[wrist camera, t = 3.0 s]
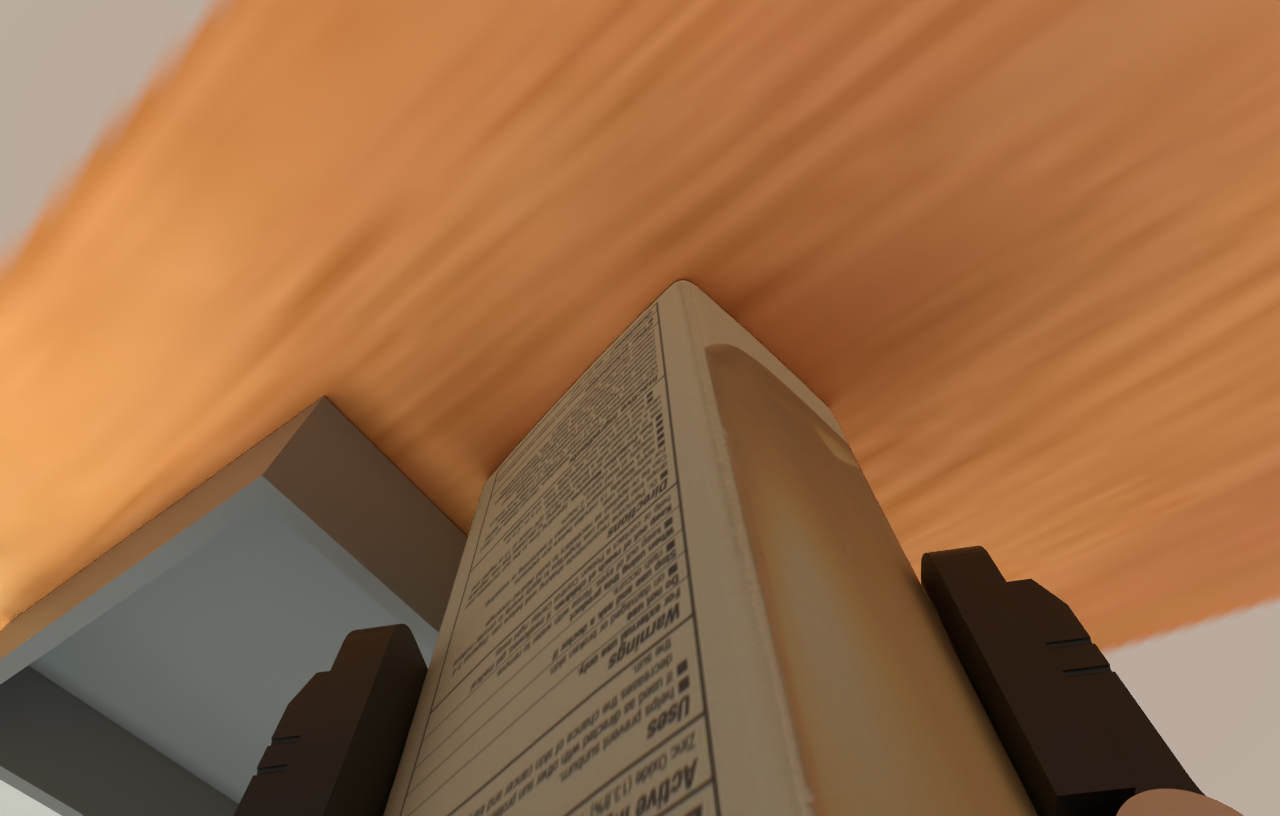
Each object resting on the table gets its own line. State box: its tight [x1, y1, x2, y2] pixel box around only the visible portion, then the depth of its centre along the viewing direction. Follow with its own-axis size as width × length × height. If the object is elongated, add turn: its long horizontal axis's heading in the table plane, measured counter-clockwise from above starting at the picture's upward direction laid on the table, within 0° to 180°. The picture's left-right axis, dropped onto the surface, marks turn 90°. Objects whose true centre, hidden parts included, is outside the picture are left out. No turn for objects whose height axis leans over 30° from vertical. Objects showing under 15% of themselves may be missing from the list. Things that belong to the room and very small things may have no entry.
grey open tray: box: [0, 396, 468, 816], centre depth 18 cm, size 16×10×3 cm, turn 125°
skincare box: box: [383, 280, 1038, 816], centre depth 10 cm, size 6×4×12 cm
